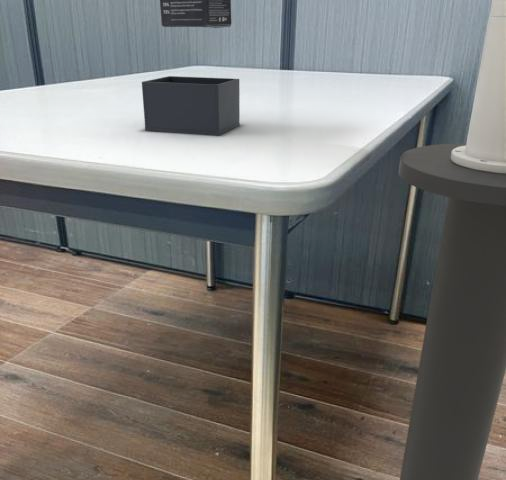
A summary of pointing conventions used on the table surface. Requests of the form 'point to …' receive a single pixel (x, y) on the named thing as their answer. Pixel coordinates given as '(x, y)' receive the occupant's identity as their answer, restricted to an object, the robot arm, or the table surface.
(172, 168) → the table surface
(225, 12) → the box
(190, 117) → the box
